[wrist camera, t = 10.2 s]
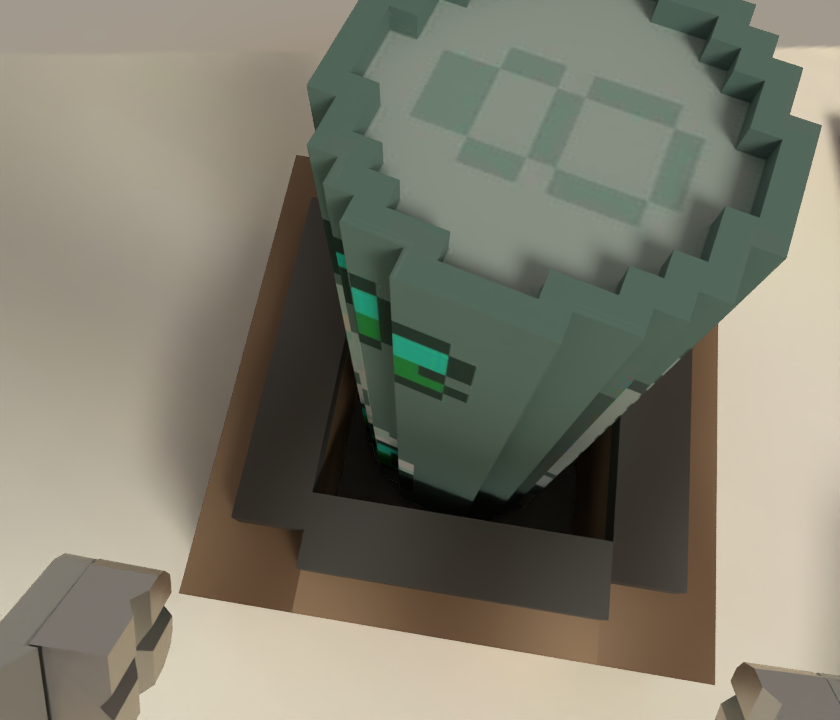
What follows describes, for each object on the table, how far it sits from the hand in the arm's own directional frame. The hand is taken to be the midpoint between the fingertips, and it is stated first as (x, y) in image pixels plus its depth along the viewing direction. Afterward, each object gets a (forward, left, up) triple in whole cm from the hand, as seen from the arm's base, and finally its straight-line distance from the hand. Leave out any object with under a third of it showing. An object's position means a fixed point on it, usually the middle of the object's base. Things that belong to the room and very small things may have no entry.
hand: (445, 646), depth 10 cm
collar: (0, +6, -11) cm, 13 cm away
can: (0, +6, -11) cm, 13 cm away
